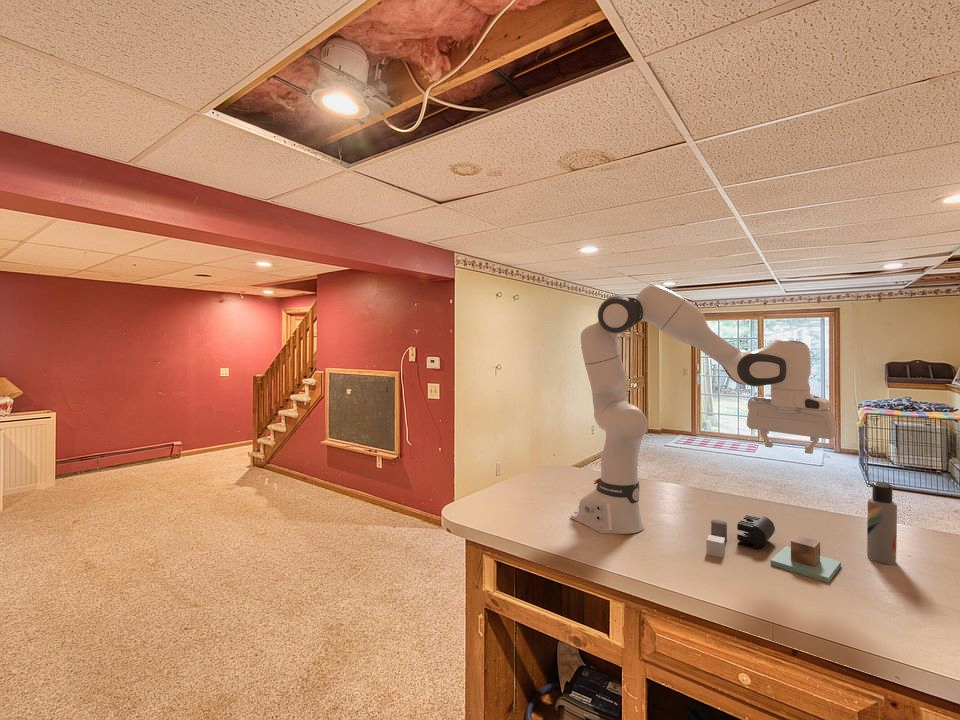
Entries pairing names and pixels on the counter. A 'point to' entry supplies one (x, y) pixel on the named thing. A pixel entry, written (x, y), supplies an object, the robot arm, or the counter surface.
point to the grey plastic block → (715, 546)
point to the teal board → (820, 571)
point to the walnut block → (805, 551)
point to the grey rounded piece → (719, 529)
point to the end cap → (755, 531)
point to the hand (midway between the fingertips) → (788, 450)
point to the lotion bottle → (882, 525)
